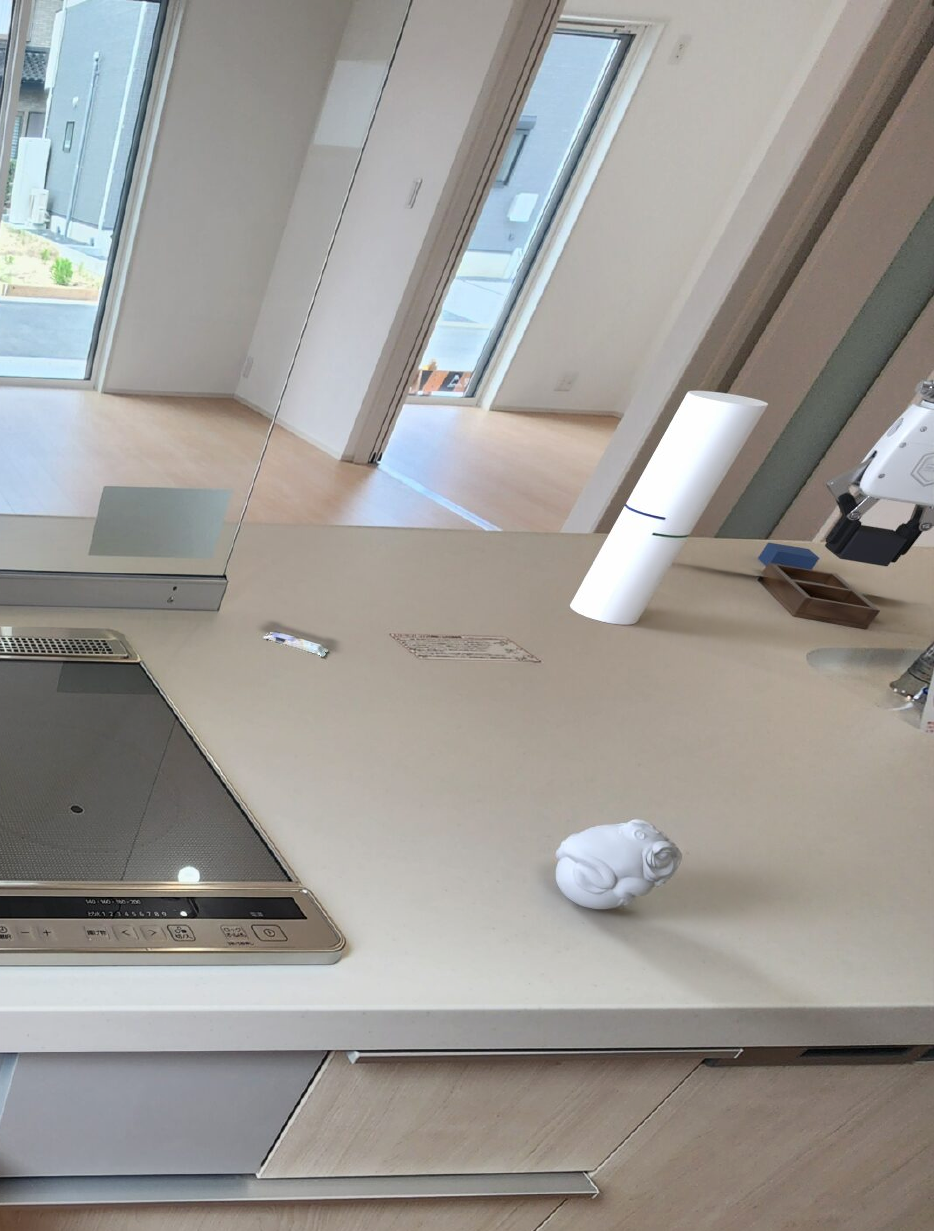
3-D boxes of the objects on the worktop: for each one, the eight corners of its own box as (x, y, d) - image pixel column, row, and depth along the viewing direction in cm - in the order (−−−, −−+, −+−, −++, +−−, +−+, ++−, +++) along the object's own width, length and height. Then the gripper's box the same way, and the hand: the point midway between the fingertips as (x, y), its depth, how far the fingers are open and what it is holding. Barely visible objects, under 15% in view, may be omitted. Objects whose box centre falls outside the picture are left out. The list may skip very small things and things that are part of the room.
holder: (824, 591, 130) (836, 573, 129) (866, 629, 119) (880, 610, 118) (757, 579, 132) (768, 562, 131) (792, 616, 122) (805, 597, 120)
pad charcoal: (873, 556, 120) (893, 529, 118) (887, 566, 117) (908, 539, 115) (826, 548, 121) (845, 522, 119) (839, 558, 118) (858, 531, 116)
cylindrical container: (577, 597, 123) (693, 388, 108) (642, 614, 119) (772, 400, 104) (563, 610, 119) (682, 395, 104) (630, 629, 115) (763, 408, 100)
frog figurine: (656, 935, 68) (716, 859, 64) (552, 920, 69) (605, 844, 65) (614, 883, 73) (667, 809, 69) (517, 869, 74) (564, 795, 70)
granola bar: (328, 654, 105) (331, 645, 105) (321, 661, 104) (325, 652, 103) (267, 635, 108) (270, 627, 108) (260, 642, 107) (263, 633, 106)
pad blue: (793, 572, 136) (809, 548, 134) (803, 581, 133) (820, 557, 131) (752, 565, 137) (767, 542, 135) (761, 574, 134) (777, 551, 132)
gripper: (893, 392, 108) (786, 549, 119) (1090, 416, 103) (959, 578, 113) (867, 381, 113) (767, 532, 124) (1052, 403, 108) (930, 559, 119)
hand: (860, 552), depth 119 cm, fingers closed on pad charcoal, 4 cm apart
